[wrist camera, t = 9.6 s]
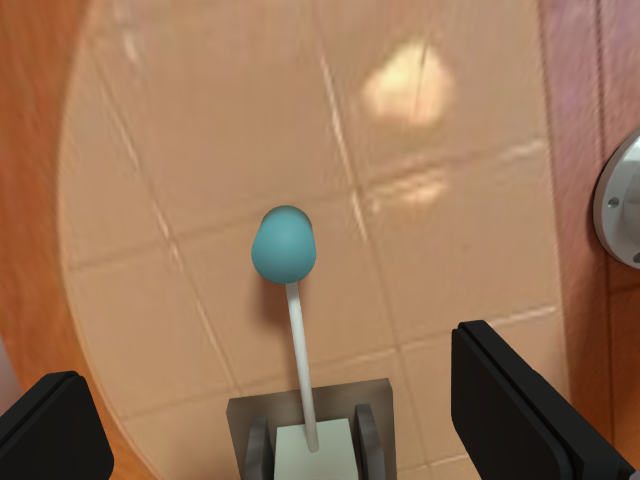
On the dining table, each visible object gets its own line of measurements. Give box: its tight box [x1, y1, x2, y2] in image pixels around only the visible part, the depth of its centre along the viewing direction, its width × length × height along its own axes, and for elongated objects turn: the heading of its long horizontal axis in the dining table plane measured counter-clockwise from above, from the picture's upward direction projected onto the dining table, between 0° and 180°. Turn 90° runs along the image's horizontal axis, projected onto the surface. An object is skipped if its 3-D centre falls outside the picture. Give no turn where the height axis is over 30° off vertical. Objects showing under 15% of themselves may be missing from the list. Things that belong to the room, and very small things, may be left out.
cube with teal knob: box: [252, 205, 358, 480], centre depth 25 cm, size 6×25×5 cm, turn 6°
